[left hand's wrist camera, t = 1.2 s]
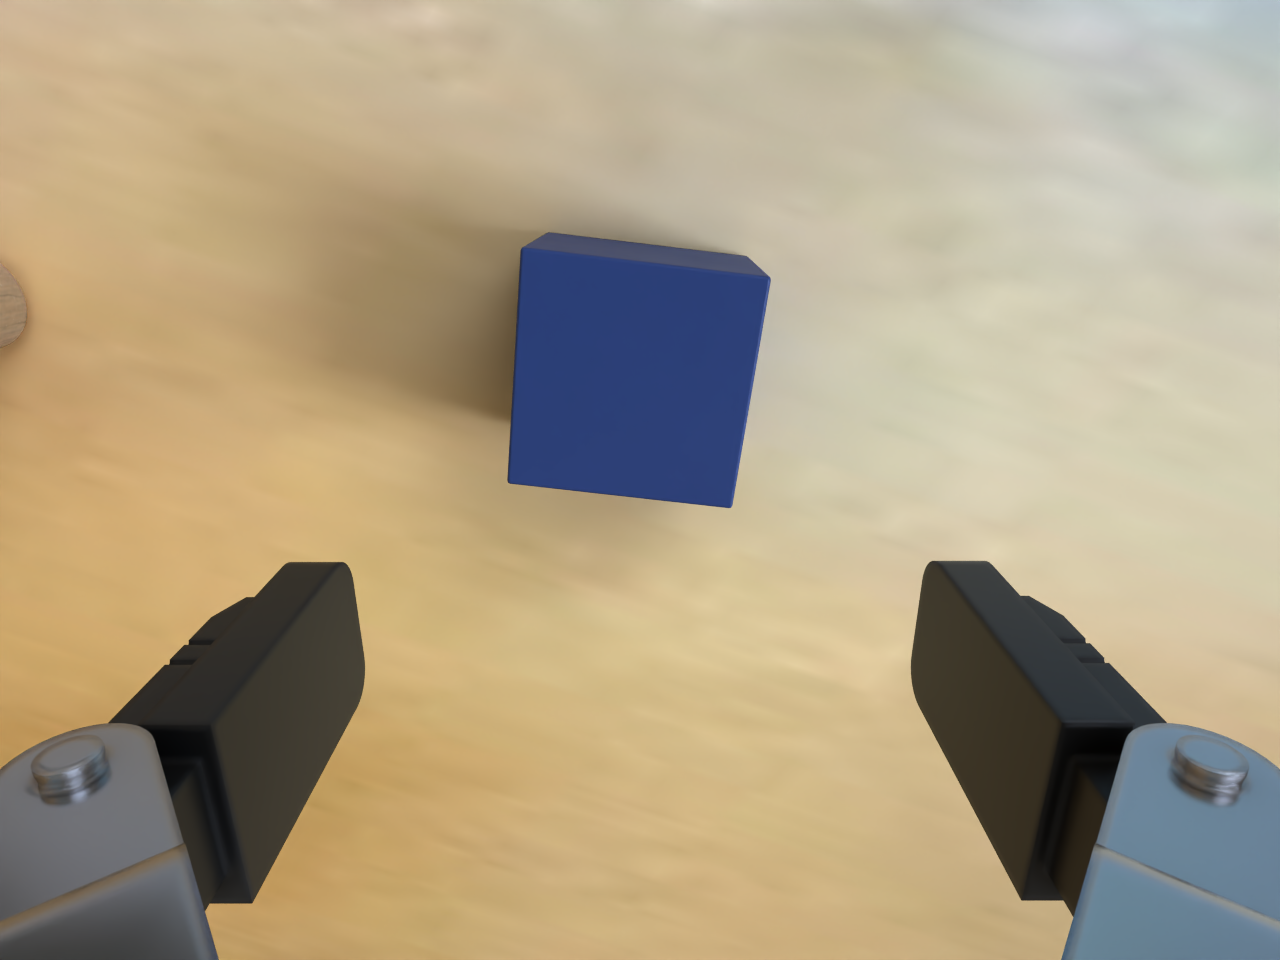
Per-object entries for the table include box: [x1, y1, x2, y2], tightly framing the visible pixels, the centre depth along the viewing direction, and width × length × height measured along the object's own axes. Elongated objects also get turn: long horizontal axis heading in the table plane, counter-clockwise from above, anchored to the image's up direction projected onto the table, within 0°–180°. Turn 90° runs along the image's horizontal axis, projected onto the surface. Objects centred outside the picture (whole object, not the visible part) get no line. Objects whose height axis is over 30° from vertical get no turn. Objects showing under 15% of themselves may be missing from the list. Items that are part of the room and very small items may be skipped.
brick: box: [508, 232, 771, 508], centre depth 18 cm, size 5×5×4 cm
